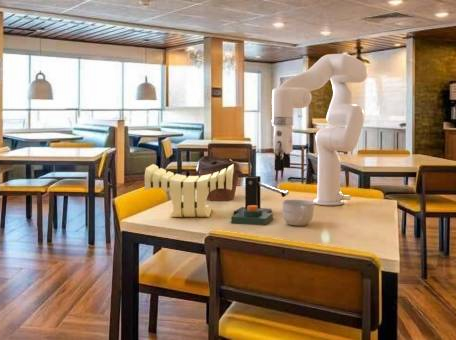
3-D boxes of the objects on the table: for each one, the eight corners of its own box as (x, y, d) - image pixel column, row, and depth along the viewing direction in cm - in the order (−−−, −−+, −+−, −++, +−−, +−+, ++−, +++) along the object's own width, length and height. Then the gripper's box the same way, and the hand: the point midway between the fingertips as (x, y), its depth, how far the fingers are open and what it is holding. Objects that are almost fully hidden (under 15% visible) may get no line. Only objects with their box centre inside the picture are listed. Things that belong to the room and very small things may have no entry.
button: (258, 210, 189) (259, 205, 189) (255, 212, 186) (255, 207, 185) (249, 209, 190) (249, 204, 190) (245, 211, 186) (245, 206, 186)
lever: (287, 196, 201) (289, 190, 200) (284, 198, 196) (286, 192, 195) (250, 182, 203) (252, 176, 203) (246, 184, 198) (248, 178, 198)
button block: (272, 219, 192) (272, 208, 191) (264, 225, 182) (264, 213, 182) (240, 217, 194) (240, 206, 194) (231, 223, 185) (231, 211, 184)
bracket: (271, 211, 205) (271, 175, 203) (264, 216, 196) (265, 179, 194) (241, 210, 207) (241, 174, 206) (233, 214, 198) (233, 177, 197)
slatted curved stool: (145, 219, 189) (144, 168, 187) (154, 210, 204) (153, 163, 202) (231, 218, 192) (231, 169, 189) (233, 209, 207) (233, 163, 205)
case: (240, 202, 223) (240, 159, 220) (192, 201, 223) (191, 158, 221) (246, 195, 240) (246, 155, 238) (201, 194, 240) (201, 154, 238)
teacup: (281, 220, 189) (282, 198, 188) (312, 220, 190) (312, 198, 189) (283, 230, 176) (283, 205, 175) (316, 229, 177) (316, 205, 176)
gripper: (286, 123, 185) (286, 172, 187) (298, 121, 202) (297, 166, 204) (266, 122, 187) (266, 171, 189) (278, 121, 203) (278, 165, 206)
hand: (282, 168), depth 197 cm, fingers open, 9 cm apart
